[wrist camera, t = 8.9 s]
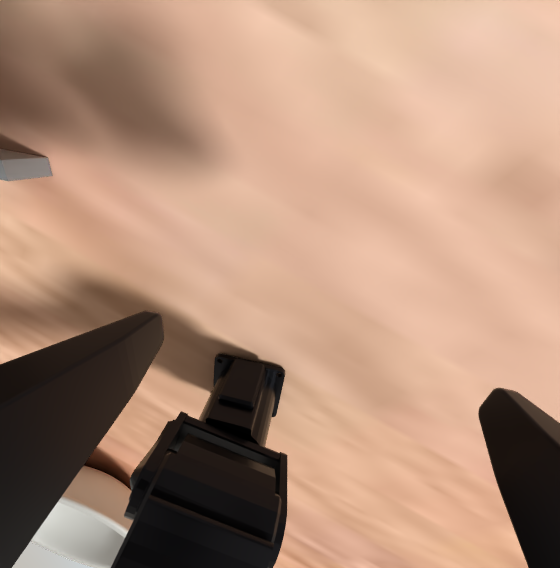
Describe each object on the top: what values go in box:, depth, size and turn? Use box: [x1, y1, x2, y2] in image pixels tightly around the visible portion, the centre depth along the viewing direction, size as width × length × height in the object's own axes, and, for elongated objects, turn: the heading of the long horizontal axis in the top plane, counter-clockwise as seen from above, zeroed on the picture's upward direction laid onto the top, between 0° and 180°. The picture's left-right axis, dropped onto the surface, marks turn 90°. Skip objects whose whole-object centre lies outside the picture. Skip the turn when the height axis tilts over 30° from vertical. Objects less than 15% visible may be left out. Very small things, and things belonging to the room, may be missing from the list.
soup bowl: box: [31, 466, 133, 568], centre depth 39 cm, size 24×24×7 cm
